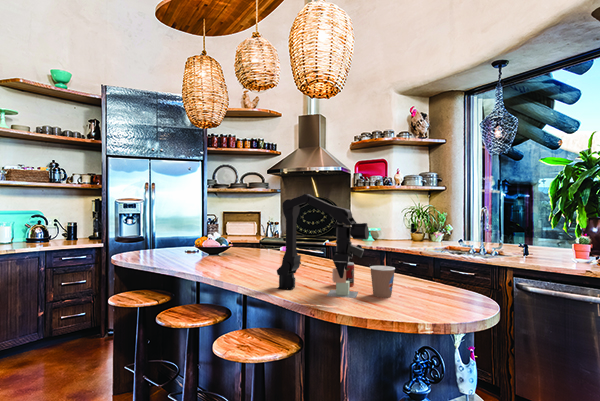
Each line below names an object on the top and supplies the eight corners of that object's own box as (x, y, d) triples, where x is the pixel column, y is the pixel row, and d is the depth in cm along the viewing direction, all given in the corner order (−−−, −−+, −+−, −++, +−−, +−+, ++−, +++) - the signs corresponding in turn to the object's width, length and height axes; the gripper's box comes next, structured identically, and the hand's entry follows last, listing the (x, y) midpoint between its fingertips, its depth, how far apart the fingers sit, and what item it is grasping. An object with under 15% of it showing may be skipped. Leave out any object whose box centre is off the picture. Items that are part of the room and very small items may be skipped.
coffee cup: (395, 300, 145) (396, 270, 145) (369, 299, 147) (369, 268, 147) (394, 294, 155) (394, 266, 155) (369, 293, 157) (369, 265, 157)
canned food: (348, 289, 165) (349, 264, 165) (333, 286, 170) (333, 262, 170) (357, 286, 171) (357, 262, 171) (342, 284, 176) (342, 261, 176)
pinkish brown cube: (333, 282, 150) (333, 270, 150) (332, 280, 155) (332, 268, 155) (345, 282, 150) (346, 270, 150) (344, 280, 155) (344, 268, 155)
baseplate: (326, 297, 148) (326, 295, 148) (330, 291, 160) (330, 289, 160) (356, 299, 145) (356, 298, 145) (358, 293, 157) (358, 291, 157)
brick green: (335, 294, 151) (336, 282, 151) (337, 292, 156) (337, 280, 156) (348, 295, 150) (348, 283, 150) (349, 292, 154) (349, 280, 155)
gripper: (361, 241, 142) (360, 281, 142) (364, 237, 160) (364, 273, 160) (332, 240, 145) (332, 279, 144) (339, 237, 163) (338, 272, 163)
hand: (342, 276), depth 153 cm, fingers open, 9 cm apart
